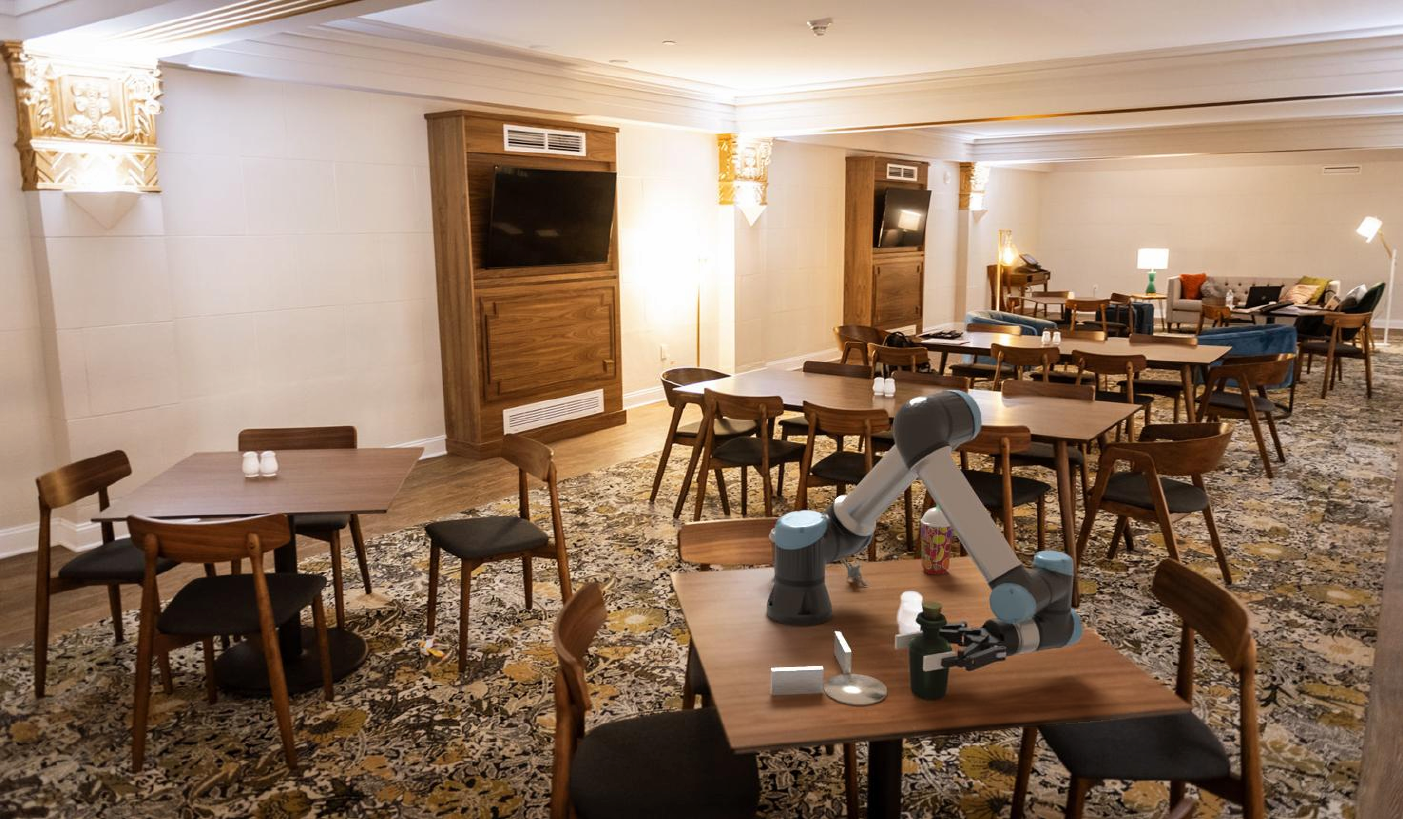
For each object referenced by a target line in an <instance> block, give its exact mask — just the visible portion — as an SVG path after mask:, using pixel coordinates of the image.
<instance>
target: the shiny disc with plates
mask: <svg viewBox="0 0 1403 819" xmlns="http://www.w3.org/2000/svg"><path fill="white" fill-rule="evenodd" d="M833 642H834V644H833V647H834V648H833V649H834V650H833V654H835V655H834V656H836V657H835V658H836V661H837V662H838V664H839V666H840V668H841V670H842V672H843V674H838V675H835V676H832V677H830V678H828V679H827V680H826V681H825V683H824V667H823V665H821V666H819V665H818V666H817V665H816V666H814V665H813V666H795V667H794V666H793V667H792V666H791V667H771V668H770V695H771V696H787V695H812V694H824V692H825V694H826V696H828V697H829V698H830V699H831V700H834V701H836V702H839V703H842V704H845V705H850V706H851V705H852V706H869V705H875V704H877V703H879V702H881V701H884V700H885V699H886V698H887V694H888V690H887V689H888V688H887V686H886V685H885V684H884V682H882V681H880V680H879V679H878V678H875V677H872V676H870V675H865V674H864V675H863V674H857V673H852V650H851V648H850V647H849V645H848V643H847V641H846V639H845V638H844V636H843V634H842V632H841V631H834V641H833Z"/></svg>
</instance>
